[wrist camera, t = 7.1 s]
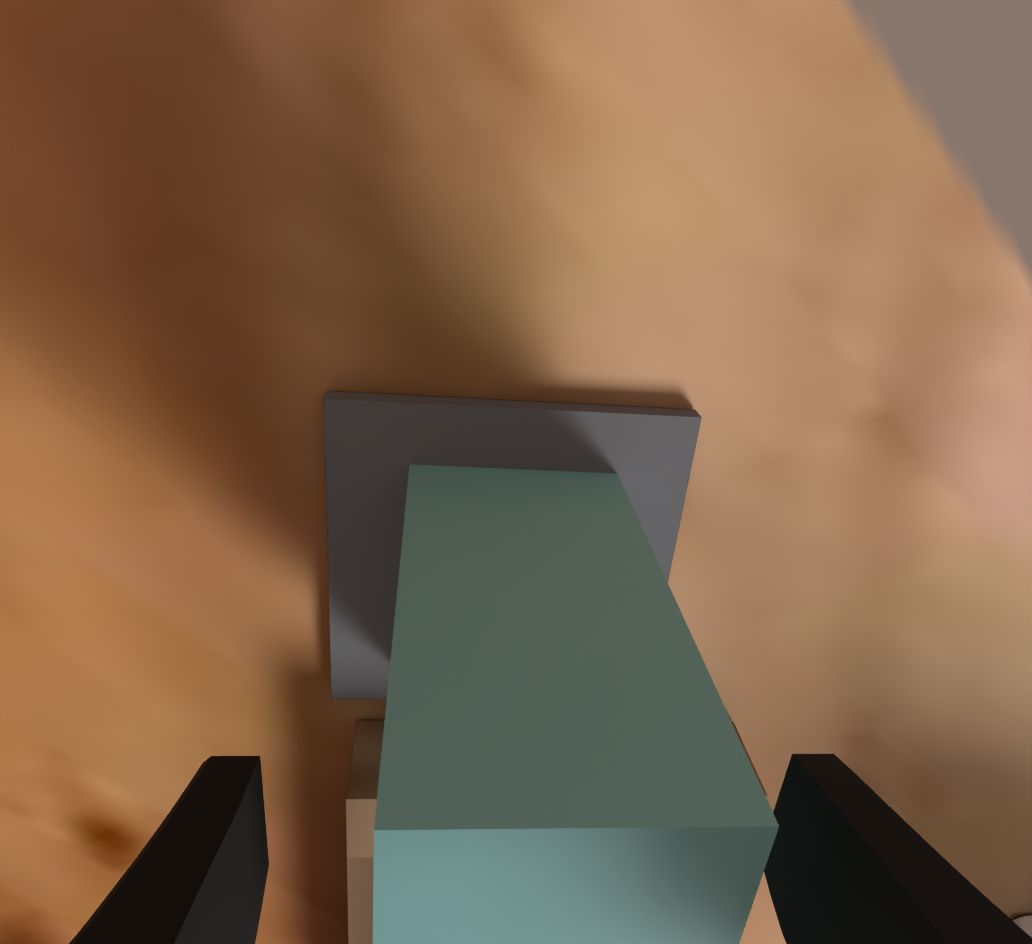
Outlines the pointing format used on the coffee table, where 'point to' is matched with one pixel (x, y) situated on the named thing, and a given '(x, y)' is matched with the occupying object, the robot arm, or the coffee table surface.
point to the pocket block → (372, 827)
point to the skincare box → (1025, 924)
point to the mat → (469, 443)
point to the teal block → (553, 730)
